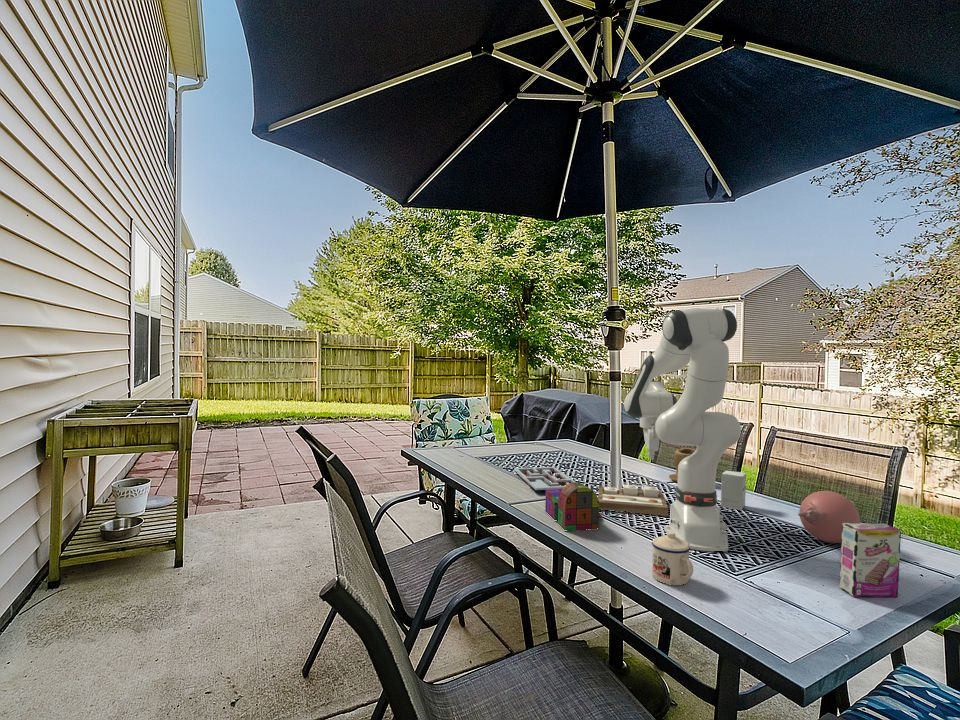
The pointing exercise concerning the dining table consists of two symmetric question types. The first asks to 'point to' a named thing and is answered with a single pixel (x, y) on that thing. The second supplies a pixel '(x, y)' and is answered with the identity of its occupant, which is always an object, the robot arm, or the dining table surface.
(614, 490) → the left button
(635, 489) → the middle button
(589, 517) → the block puzzle
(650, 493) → the right button
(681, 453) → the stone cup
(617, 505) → the button board
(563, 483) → the maze game
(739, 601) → the dining table surface
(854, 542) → the candy bar box
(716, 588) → the dining table surface
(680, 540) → the teacup with lid
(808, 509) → the red onion
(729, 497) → the supplement box
